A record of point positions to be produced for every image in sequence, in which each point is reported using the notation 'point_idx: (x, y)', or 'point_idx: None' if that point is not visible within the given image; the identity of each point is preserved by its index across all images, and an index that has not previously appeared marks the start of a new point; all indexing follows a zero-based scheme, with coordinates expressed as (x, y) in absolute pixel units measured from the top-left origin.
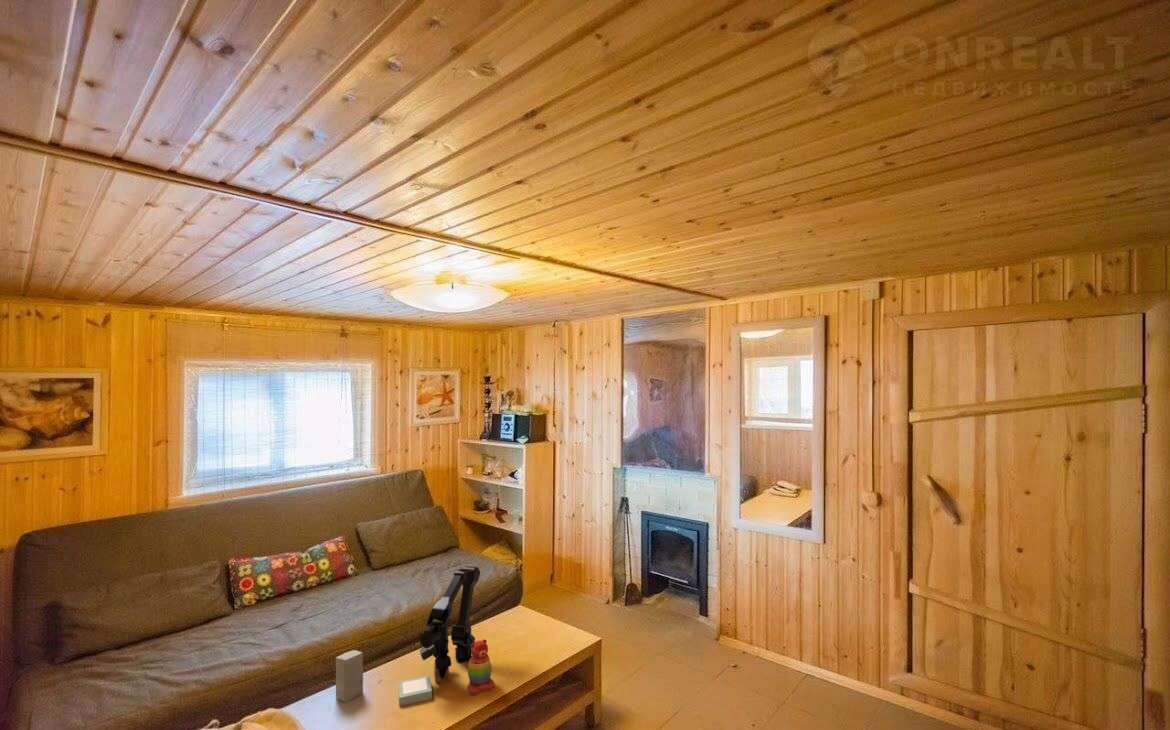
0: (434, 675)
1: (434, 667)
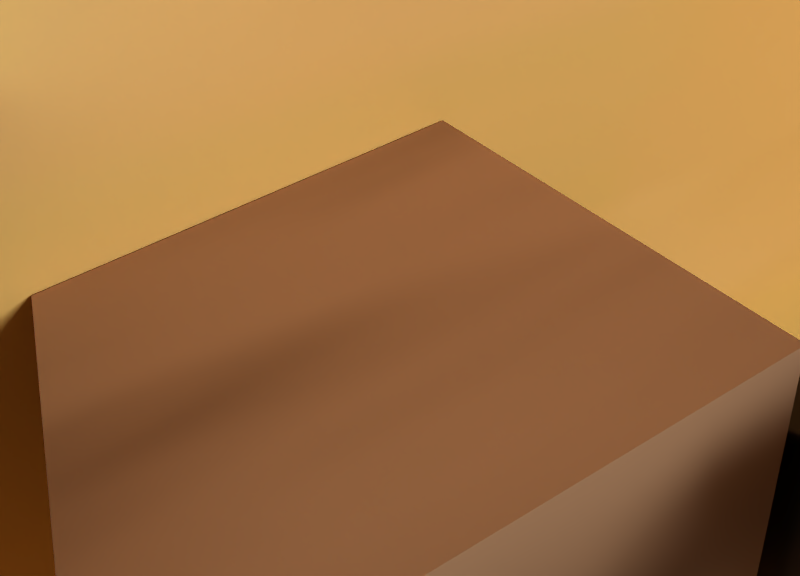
0: (367, 200)
1: (487, 416)
